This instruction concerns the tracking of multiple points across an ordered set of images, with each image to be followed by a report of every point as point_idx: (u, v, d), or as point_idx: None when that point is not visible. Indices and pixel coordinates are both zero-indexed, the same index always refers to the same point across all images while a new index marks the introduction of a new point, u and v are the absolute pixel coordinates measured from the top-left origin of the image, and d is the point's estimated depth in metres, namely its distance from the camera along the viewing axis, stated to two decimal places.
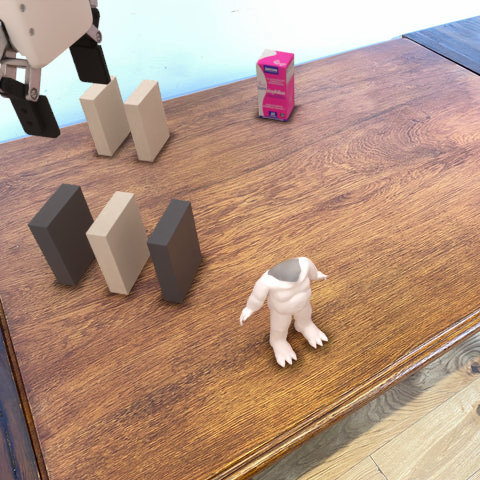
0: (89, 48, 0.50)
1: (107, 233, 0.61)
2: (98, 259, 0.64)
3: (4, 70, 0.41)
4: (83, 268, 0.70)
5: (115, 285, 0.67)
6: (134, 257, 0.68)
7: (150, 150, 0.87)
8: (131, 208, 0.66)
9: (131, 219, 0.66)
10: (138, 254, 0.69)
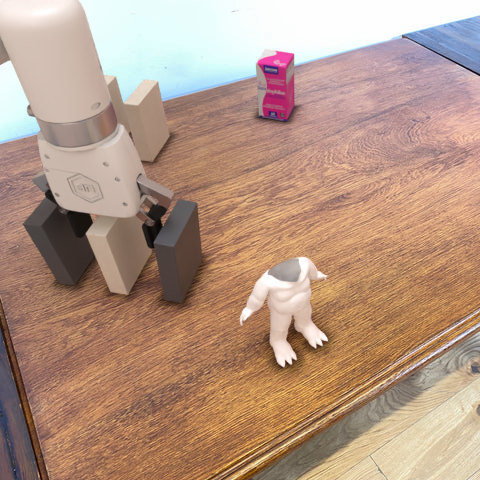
0: None
1: (107, 233, 0.61)
2: (98, 259, 0.64)
3: (143, 210, 0.60)
4: (83, 267, 0.70)
5: (115, 285, 0.67)
6: (134, 257, 0.68)
7: (150, 150, 0.87)
8: None
9: (131, 219, 0.66)
10: (138, 254, 0.69)
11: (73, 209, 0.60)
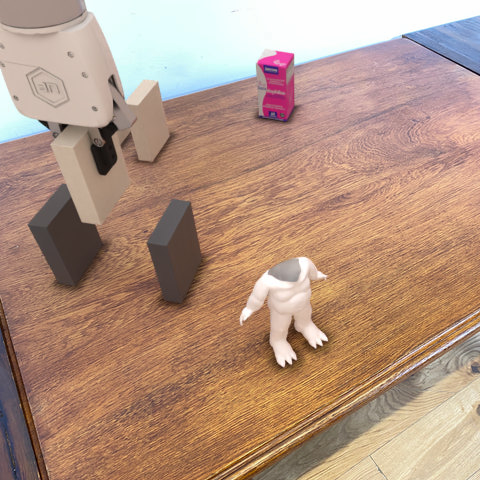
0: None
1: (75, 145, 0.52)
2: (66, 179, 0.55)
3: (100, 128, 0.53)
4: (83, 268, 0.70)
5: (87, 213, 0.59)
6: (108, 183, 0.60)
7: (150, 150, 0.87)
8: None
9: None
10: (114, 181, 0.61)
11: (35, 117, 0.52)
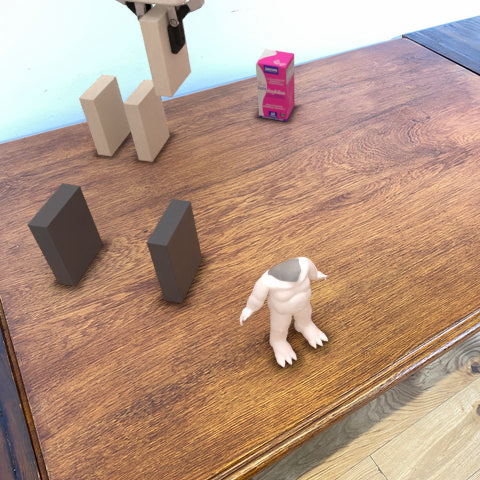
0: None
1: (158, 21, 0.67)
2: (148, 53, 0.70)
3: (176, 9, 0.68)
4: (83, 268, 0.70)
5: (161, 86, 0.74)
6: (177, 64, 0.75)
7: (150, 150, 0.87)
8: None
9: None
10: (181, 64, 0.76)
11: None
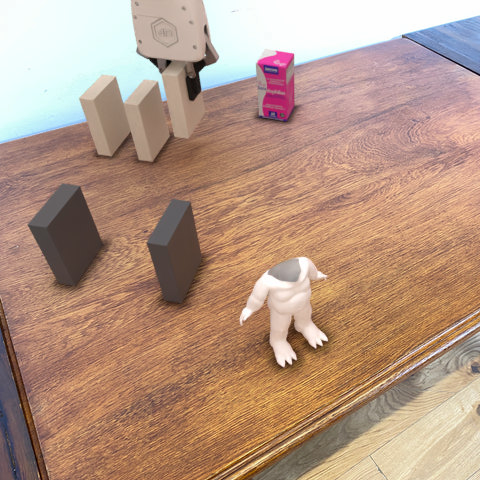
0: None
1: (178, 74, 0.76)
2: (168, 101, 0.79)
3: (194, 64, 0.77)
4: (83, 268, 0.70)
5: (179, 129, 0.82)
6: (193, 108, 0.83)
7: (150, 150, 0.87)
8: None
9: None
10: (196, 108, 0.85)
11: (152, 55, 0.75)
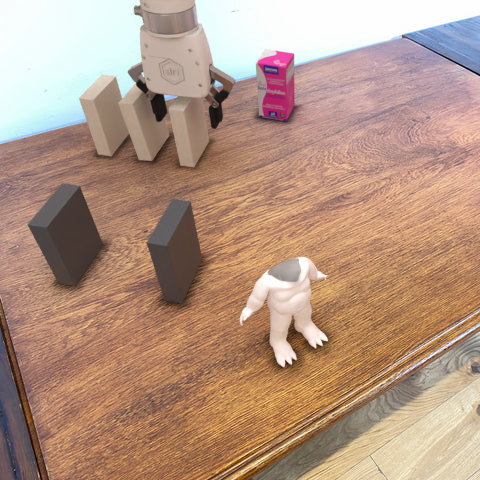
0: (161, 95, 0.84)
1: (184, 109, 0.80)
2: (175, 133, 0.83)
3: (211, 94, 0.80)
4: (83, 268, 0.70)
5: (185, 158, 0.86)
6: (198, 138, 0.88)
7: (149, 149, 0.87)
8: None
9: (198, 106, 0.85)
10: (201, 138, 0.89)
11: (159, 91, 0.79)
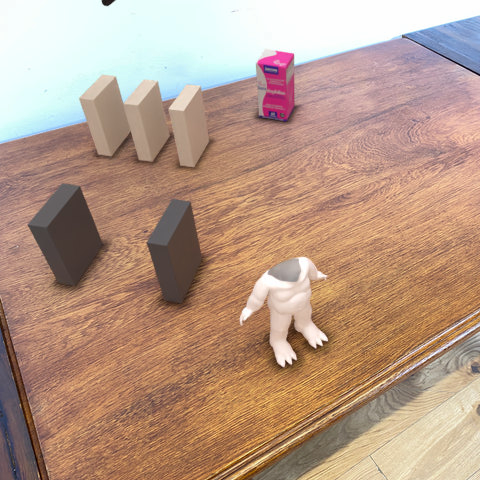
0: None
1: (184, 109, 0.80)
2: (175, 133, 0.83)
3: None
4: (83, 268, 0.70)
5: (185, 158, 0.86)
6: (198, 138, 0.88)
7: (150, 150, 0.87)
8: (198, 97, 0.85)
9: (198, 106, 0.85)
10: (201, 138, 0.89)
11: None
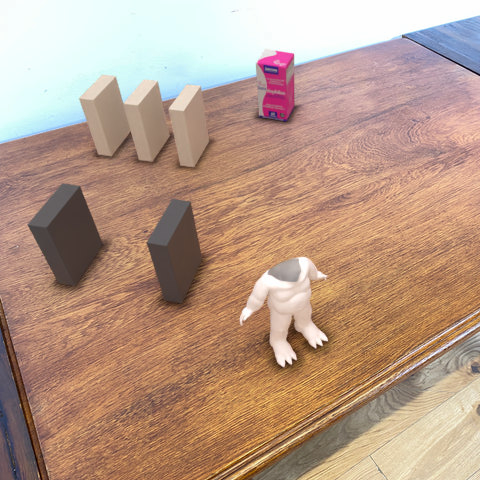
0: None
1: (184, 109, 0.80)
2: (175, 133, 0.83)
3: None
4: (83, 268, 0.70)
5: (185, 158, 0.86)
6: (198, 138, 0.88)
7: (150, 150, 0.87)
8: (199, 97, 0.85)
9: (198, 106, 0.85)
10: (201, 138, 0.89)
11: None
